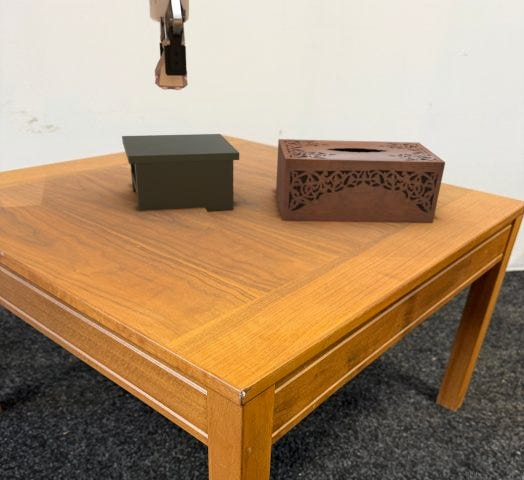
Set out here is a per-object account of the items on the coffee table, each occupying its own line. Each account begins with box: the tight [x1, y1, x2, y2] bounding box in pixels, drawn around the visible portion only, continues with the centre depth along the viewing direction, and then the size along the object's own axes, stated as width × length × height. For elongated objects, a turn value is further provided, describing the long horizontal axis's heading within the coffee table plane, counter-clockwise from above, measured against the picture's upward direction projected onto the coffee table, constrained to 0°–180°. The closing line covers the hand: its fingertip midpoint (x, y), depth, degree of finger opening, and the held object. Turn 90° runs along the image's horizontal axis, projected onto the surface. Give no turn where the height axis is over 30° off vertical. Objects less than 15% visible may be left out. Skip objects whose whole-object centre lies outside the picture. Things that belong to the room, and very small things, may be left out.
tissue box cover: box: [275, 138, 446, 224], centre depth 96 cm, size 26×14×10 cm, turn 93°
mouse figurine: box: [154, 39, 189, 91], centre depth 87 cm, size 5×8×7 cm, turn 7°
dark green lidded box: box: [121, 133, 240, 212], centre depth 97 cm, size 18×15×10 cm
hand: (173, 71), depth 87 cm, fingers closed on mouse figurine, 4 cm apart
